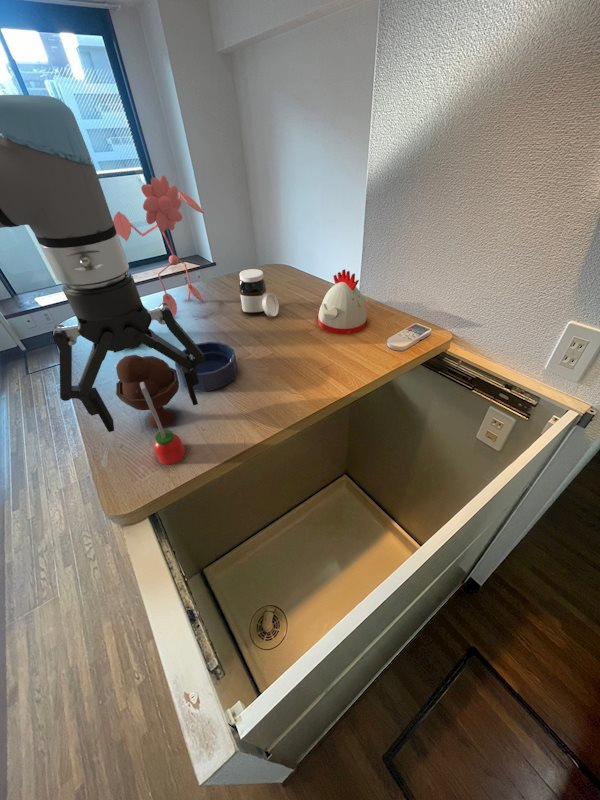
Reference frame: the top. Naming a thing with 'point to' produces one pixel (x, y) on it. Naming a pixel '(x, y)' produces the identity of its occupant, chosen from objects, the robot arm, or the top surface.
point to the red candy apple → (164, 437)
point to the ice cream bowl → (147, 385)
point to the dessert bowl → (213, 366)
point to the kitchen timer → (343, 306)
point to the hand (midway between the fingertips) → (154, 412)
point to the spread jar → (256, 294)
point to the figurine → (161, 223)
